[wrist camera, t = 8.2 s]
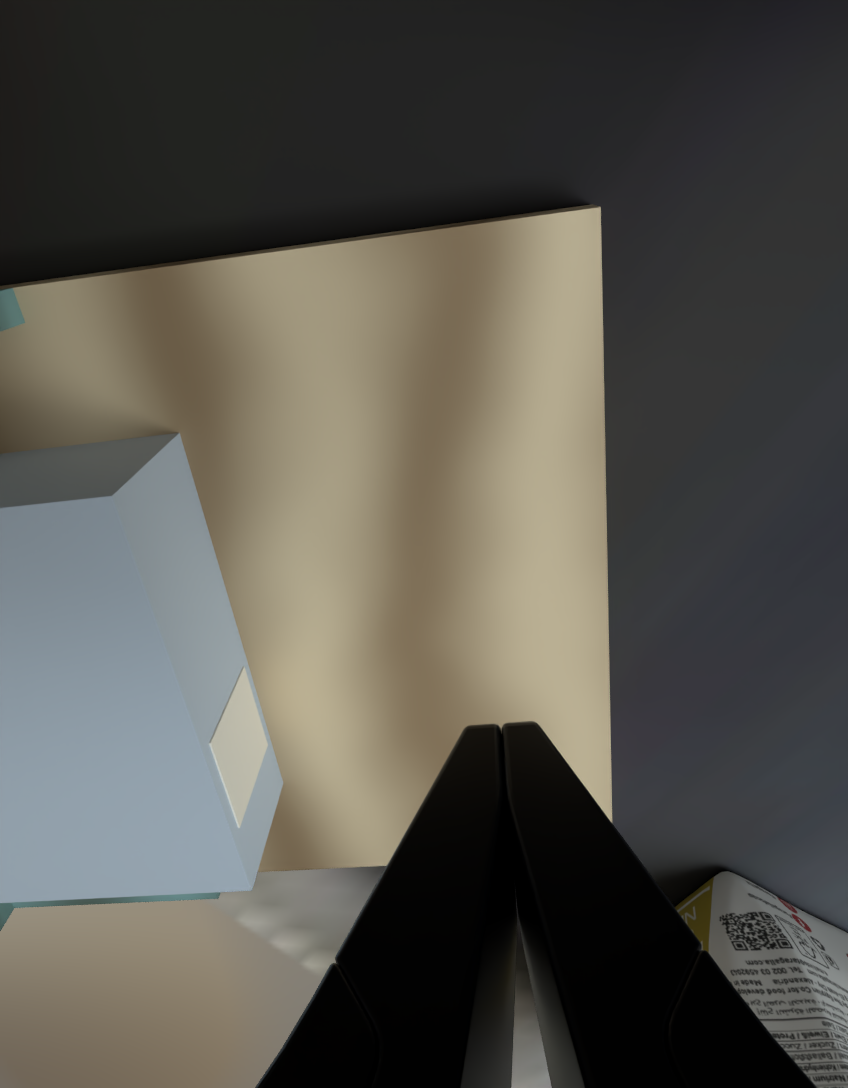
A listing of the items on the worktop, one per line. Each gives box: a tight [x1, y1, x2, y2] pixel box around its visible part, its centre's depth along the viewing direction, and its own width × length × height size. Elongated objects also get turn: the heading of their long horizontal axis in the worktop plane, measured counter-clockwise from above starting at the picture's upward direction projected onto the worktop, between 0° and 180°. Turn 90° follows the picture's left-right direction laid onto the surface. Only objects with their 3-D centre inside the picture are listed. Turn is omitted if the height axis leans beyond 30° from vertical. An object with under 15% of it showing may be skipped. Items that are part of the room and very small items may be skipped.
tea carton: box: [0, 433, 283, 903], centre depth 20 cm, size 9×12×4 cm
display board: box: [0, 205, 612, 931], centre depth 21 cm, size 22×20×4 cm
